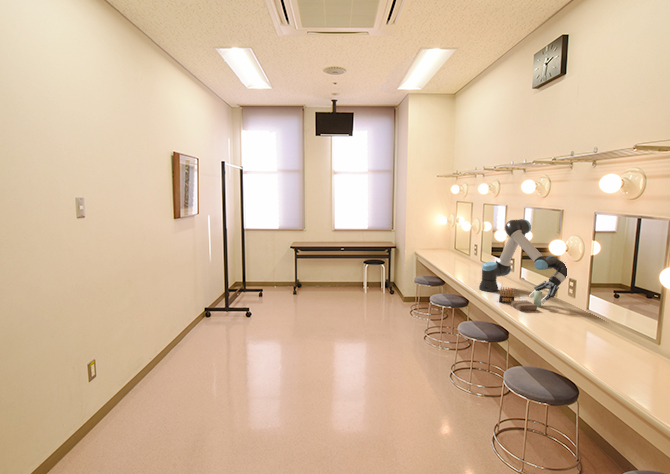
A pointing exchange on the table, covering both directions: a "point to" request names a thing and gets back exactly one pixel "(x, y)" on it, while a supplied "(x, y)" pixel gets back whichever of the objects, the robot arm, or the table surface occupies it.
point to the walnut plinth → (524, 305)
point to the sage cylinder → (537, 298)
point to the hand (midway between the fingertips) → (535, 299)
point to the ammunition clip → (506, 295)
